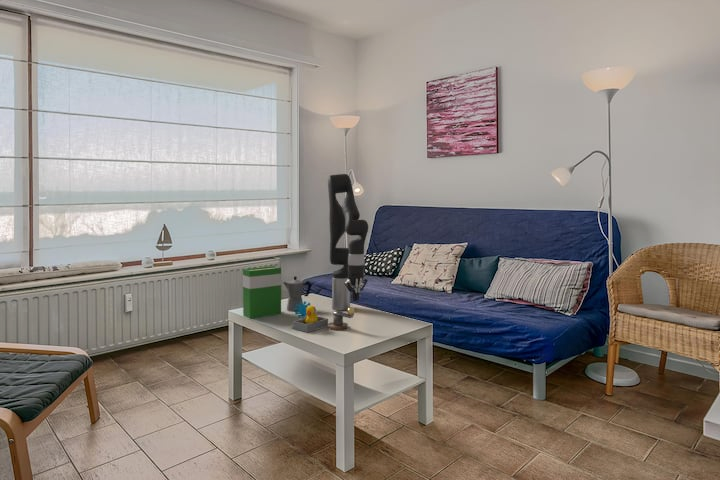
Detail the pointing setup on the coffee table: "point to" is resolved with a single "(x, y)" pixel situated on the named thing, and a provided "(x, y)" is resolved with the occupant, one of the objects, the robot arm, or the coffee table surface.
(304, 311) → the gear
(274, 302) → the green box
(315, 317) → the duckling
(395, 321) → the coffee table surface
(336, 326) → the base
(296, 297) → the coffeepot
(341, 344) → the coffee table surface
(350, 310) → the crank
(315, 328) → the tray
